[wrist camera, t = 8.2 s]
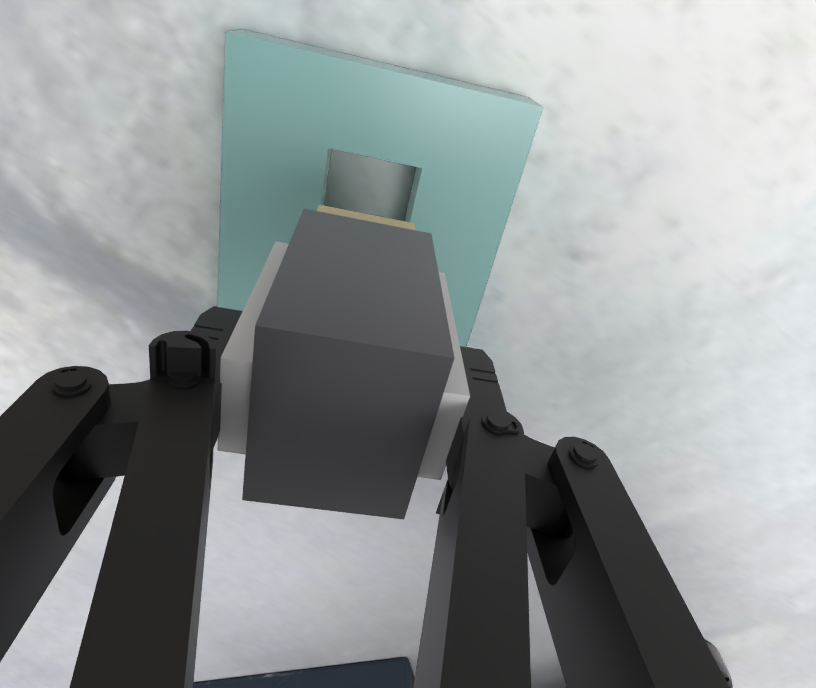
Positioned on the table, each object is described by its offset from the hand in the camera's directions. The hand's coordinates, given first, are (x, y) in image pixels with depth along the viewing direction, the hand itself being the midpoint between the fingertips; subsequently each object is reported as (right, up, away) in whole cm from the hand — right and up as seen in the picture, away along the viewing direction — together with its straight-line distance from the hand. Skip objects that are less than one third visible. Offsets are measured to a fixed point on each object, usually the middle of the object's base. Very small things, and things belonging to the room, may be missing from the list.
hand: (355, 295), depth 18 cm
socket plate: (-1, +3, +14) cm, 14 cm away
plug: (0, +2, +2) cm, 3 cm away
